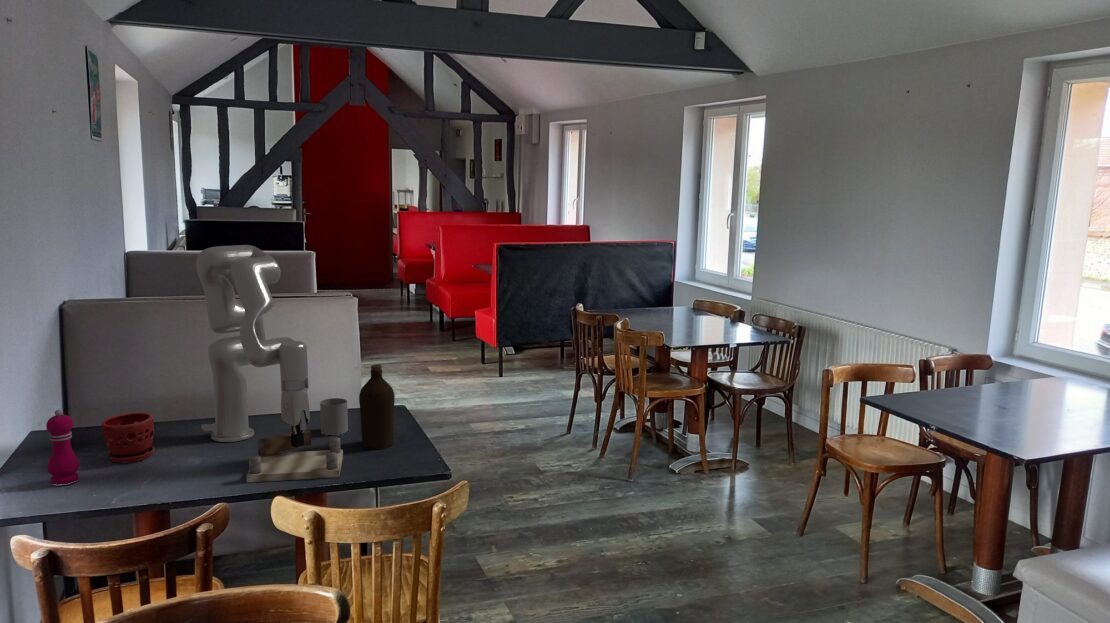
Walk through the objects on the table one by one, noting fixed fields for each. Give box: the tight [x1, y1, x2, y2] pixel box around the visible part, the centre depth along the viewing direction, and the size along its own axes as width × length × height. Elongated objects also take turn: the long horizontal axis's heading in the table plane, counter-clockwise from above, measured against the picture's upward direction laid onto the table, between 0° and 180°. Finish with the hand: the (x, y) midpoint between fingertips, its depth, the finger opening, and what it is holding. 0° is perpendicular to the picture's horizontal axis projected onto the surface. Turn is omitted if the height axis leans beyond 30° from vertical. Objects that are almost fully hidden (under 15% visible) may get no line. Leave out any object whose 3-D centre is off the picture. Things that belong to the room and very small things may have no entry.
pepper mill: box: [46, 408, 80, 485], centre depth 206 cm, size 7×7×20 cm
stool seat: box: [246, 436, 344, 483], centre depth 220 cm, size 24×17×6 cm
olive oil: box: [358, 364, 396, 450], centre depth 240 cm, size 11×11×25 cm
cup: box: [319, 397, 349, 436], centre depth 253 cm, size 8×8×10 cm
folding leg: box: [257, 429, 312, 455], centre depth 228 cm, size 15×3×4 cm, turn 133°
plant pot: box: [101, 412, 155, 464], centre depth 226 cm, size 13×13×12 cm
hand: (297, 445), depth 227 cm, fingers closed
